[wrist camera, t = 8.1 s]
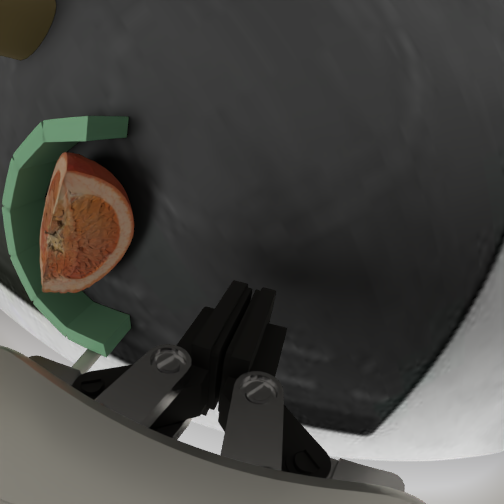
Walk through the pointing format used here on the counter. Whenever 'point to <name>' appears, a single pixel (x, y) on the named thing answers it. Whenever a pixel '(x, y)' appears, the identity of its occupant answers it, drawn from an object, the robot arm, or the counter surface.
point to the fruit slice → (82, 225)
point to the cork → (24, 26)
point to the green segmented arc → (29, 224)
